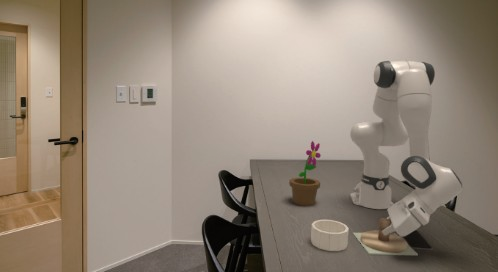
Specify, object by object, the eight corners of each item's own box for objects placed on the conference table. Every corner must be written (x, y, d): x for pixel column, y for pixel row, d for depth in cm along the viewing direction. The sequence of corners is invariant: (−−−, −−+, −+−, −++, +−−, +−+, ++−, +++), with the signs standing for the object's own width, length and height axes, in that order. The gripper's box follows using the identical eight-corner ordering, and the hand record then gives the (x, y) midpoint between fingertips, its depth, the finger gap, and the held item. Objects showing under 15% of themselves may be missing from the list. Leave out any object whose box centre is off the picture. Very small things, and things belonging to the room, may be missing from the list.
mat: (352, 233, 124) (352, 232, 124) (395, 234, 125) (395, 233, 125) (369, 254, 108) (369, 253, 108) (417, 255, 109) (417, 254, 109)
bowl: (308, 235, 122) (309, 219, 121) (341, 235, 122) (342, 220, 121) (315, 250, 110) (316, 233, 109) (351, 251, 110) (352, 234, 110)
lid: (354, 233, 124) (356, 211, 123) (394, 233, 124) (396, 212, 123) (370, 252, 109) (371, 228, 108) (415, 253, 109) (417, 229, 108)
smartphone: (411, 247, 114) (397, 228, 129) (410, 250, 114) (396, 231, 129) (433, 249, 113) (417, 229, 128) (433, 252, 113) (416, 232, 128)
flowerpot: (308, 209, 149) (311, 143, 145) (282, 202, 158) (285, 139, 155) (324, 202, 159) (328, 140, 155) (299, 195, 169) (302, 136, 165)
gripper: (404, 190, 122) (373, 213, 126) (415, 209, 103) (378, 234, 107) (416, 204, 122) (385, 226, 126) (429, 224, 102) (392, 250, 106)
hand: (382, 230), depth 116 cm, fingers closed on lid, 4 cm apart
